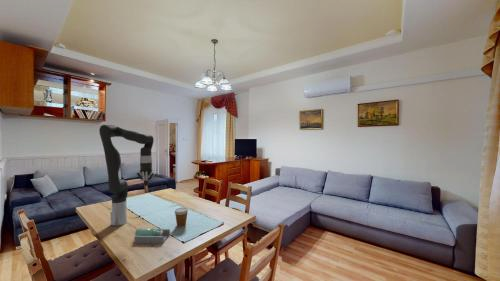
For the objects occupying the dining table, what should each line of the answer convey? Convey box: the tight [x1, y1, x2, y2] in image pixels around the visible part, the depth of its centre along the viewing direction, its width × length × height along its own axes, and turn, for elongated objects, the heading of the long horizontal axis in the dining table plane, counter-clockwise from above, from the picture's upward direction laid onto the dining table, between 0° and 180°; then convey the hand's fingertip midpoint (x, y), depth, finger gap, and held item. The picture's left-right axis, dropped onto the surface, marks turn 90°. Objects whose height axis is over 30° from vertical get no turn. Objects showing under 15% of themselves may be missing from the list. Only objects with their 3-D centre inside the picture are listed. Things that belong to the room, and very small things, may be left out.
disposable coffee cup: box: [174, 207, 189, 228], centre depth 147 cm, size 10×10×12 cm
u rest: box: [133, 228, 171, 244], centre depth 129 cm, size 18×10×4 cm, turn 90°
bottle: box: [134, 227, 163, 237], centre depth 130 cm, size 5×5×16 cm
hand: (146, 185), depth 143 cm, fingers closed
